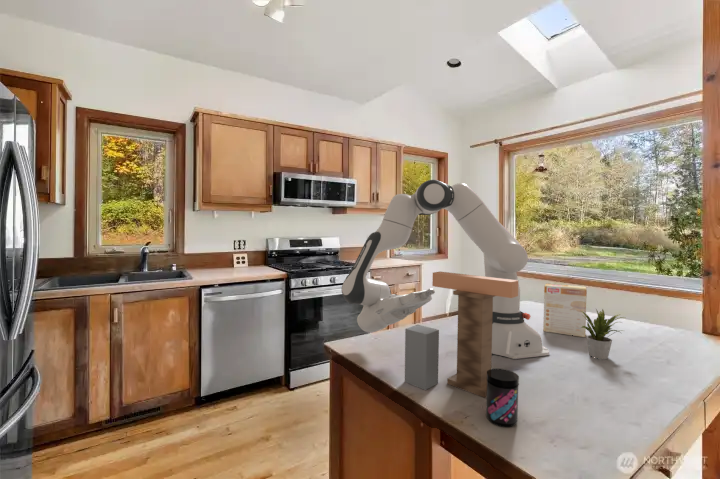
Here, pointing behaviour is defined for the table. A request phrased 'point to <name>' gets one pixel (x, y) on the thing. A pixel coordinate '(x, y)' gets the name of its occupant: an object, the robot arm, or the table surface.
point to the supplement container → (502, 397)
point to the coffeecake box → (565, 309)
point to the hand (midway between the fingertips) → (424, 292)
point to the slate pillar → (421, 356)
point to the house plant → (600, 335)
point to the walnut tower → (473, 342)
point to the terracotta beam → (476, 284)
